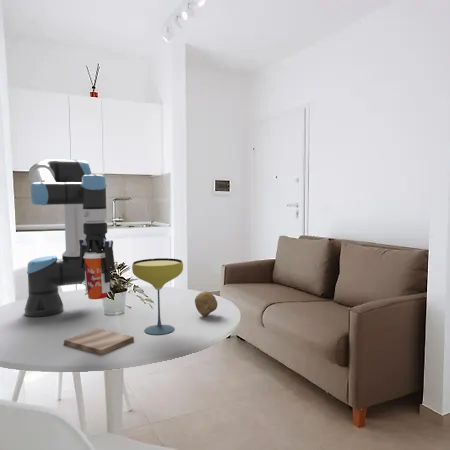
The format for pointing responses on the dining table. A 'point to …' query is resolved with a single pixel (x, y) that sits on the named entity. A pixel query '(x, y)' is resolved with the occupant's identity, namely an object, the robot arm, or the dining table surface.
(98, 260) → the coffee cup
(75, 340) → the walnut board
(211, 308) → the natural sponge
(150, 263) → the cocktail glass
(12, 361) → the dining table surface
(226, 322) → the dining table surface
